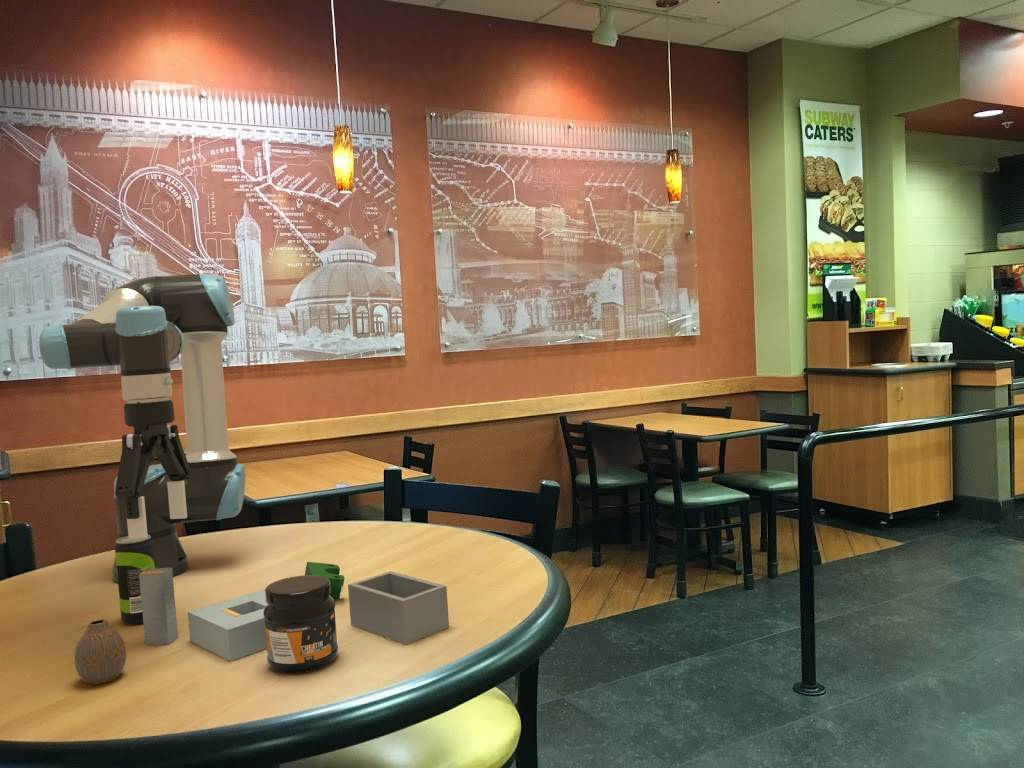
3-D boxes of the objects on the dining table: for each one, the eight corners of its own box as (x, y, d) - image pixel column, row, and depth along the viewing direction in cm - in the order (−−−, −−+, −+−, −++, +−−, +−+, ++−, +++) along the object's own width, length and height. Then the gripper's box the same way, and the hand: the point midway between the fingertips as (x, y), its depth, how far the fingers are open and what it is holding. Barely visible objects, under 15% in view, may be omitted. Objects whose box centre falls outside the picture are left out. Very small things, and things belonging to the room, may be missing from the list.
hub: (190, 641, 135) (187, 611, 135) (266, 616, 145) (264, 588, 145) (230, 661, 125) (227, 629, 125) (309, 633, 135) (307, 603, 135)
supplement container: (272, 682, 117) (265, 600, 116) (263, 657, 126) (257, 581, 126) (345, 666, 121) (339, 587, 120) (331, 643, 130) (326, 569, 130)
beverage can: (167, 614, 149) (159, 534, 148) (141, 627, 143) (133, 543, 142) (140, 612, 151) (132, 533, 150) (113, 624, 145) (106, 542, 144)
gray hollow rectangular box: (350, 624, 138) (347, 584, 138) (393, 609, 145) (390, 571, 144) (406, 644, 128) (403, 601, 127) (449, 627, 134) (446, 586, 134)
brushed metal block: (145, 645, 134) (138, 573, 133) (155, 638, 137) (148, 567, 137) (168, 644, 134) (162, 572, 133) (178, 637, 137) (171, 566, 136)
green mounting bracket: (335, 624, 151) (346, 586, 148) (303, 622, 149) (313, 583, 146) (332, 583, 162) (342, 546, 159) (302, 581, 160) (311, 543, 157)
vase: (88, 671, 125) (83, 615, 124) (135, 667, 125) (130, 611, 125) (68, 691, 118) (62, 632, 117) (117, 686, 118) (111, 627, 118)
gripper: (130, 406, 121) (142, 546, 122) (203, 393, 146) (213, 510, 147) (81, 408, 121) (94, 548, 123) (163, 395, 146) (173, 512, 148)
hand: (159, 528), depth 135 cm, fingers open, 13 cm apart
